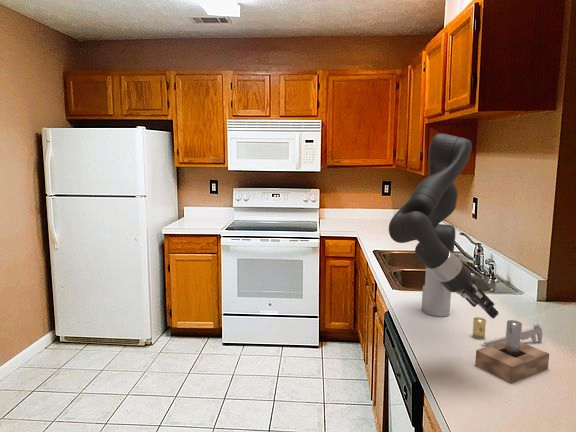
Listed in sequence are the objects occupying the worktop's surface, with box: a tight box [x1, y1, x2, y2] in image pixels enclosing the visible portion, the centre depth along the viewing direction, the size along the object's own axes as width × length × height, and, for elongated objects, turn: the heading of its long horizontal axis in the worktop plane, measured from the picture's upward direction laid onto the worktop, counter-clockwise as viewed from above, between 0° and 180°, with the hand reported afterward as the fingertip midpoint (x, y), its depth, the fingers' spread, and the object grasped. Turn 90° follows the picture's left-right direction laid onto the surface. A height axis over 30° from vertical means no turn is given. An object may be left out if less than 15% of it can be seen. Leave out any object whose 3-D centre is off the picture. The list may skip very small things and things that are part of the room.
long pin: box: [505, 319, 523, 358], centre depth 120 cm, size 4×4×13 cm
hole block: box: [474, 341, 550, 384], centre depth 121 cm, size 11×16×4 cm
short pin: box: [472, 316, 487, 340], centre depth 140 cm, size 4×4×6 cm
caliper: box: [480, 323, 543, 348], centre depth 135 cm, size 20×1×6 cm, turn 99°
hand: (485, 309), depth 117 cm, fingers open, 8 cm apart
